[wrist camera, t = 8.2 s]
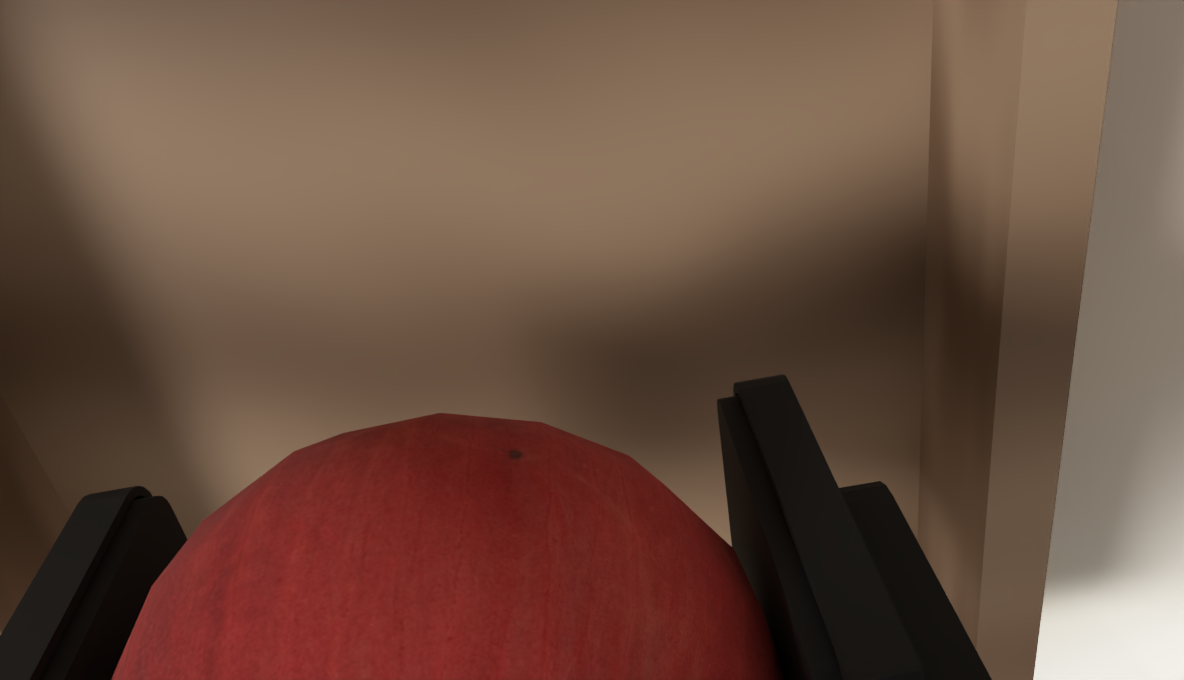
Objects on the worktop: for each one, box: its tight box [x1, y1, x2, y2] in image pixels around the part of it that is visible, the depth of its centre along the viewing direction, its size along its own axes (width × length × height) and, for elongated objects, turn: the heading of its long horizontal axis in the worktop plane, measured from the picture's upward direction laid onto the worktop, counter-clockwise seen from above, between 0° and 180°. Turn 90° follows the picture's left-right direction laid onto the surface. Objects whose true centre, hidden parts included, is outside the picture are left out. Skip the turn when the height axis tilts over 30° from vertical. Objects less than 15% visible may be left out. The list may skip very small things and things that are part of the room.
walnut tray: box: [0, 0, 1118, 680], centre depth 14 cm, size 16×16×4 cm
